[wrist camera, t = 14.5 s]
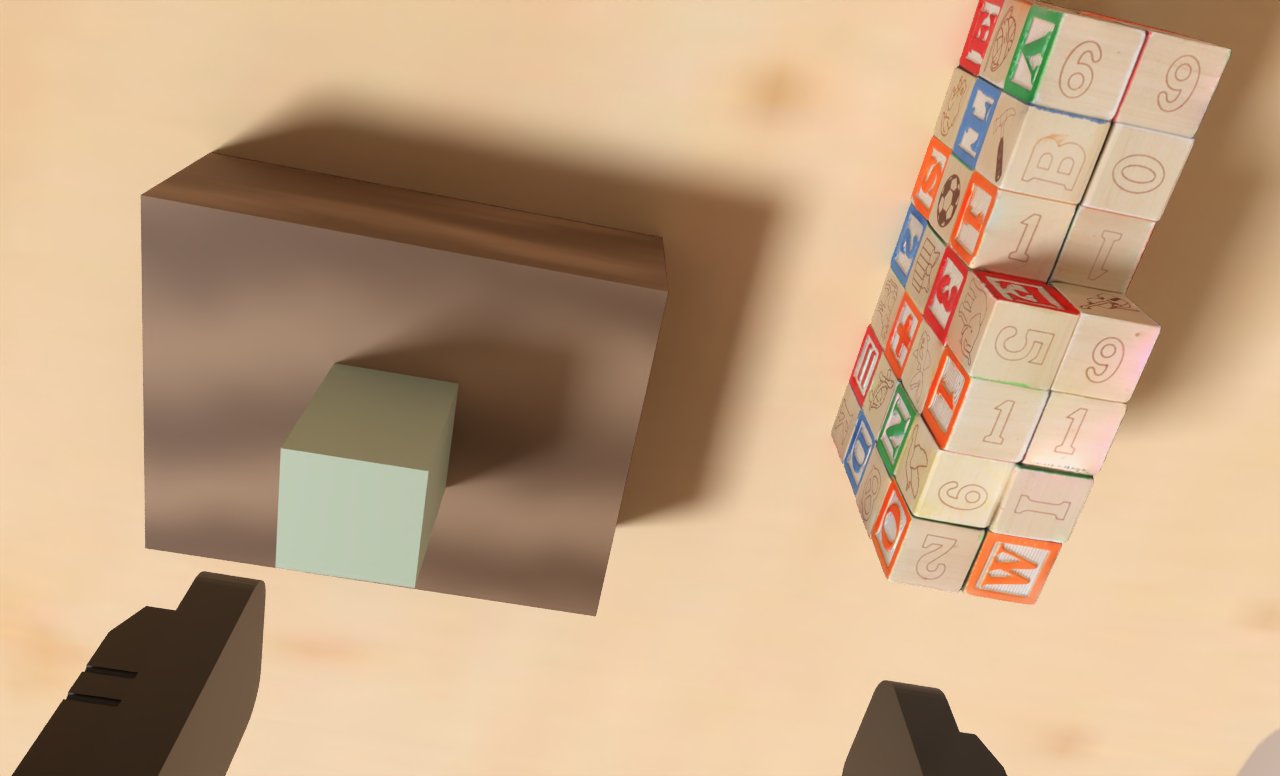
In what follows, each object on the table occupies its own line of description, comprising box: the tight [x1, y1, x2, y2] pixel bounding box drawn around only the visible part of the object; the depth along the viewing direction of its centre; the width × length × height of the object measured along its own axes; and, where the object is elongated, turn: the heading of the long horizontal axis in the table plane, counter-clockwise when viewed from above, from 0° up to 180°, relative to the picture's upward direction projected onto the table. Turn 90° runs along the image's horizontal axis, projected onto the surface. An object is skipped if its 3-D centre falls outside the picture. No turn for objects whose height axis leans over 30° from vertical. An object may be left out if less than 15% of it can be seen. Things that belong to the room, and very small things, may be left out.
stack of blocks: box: [831, 0, 1232, 604], centre depth 41 cm, size 21×6×12 cm, turn 168°
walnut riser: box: [141, 153, 668, 616], centre depth 45 cm, size 16×20×7 cm
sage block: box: [275, 363, 459, 588], centre depth 39 cm, size 5×5×7 cm
